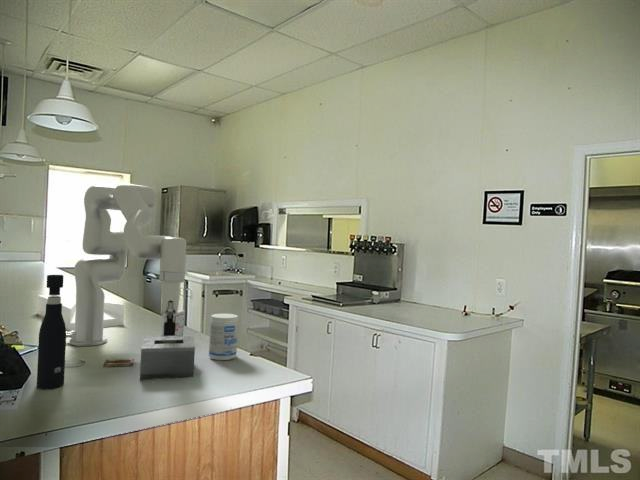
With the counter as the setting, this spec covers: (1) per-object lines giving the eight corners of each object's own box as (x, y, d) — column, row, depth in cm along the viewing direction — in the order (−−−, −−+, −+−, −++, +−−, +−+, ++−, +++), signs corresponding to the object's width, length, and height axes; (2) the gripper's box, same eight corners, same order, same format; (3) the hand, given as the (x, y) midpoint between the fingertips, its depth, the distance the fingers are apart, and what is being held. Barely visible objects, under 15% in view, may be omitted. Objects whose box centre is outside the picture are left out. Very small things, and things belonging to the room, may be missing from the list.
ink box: (172, 343, 172) (174, 313, 171) (160, 342, 173) (162, 311, 172) (183, 338, 180) (185, 309, 180) (172, 337, 181) (173, 308, 181)
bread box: (36, 314, 214) (37, 294, 214) (85, 310, 231) (86, 292, 230) (69, 331, 184) (70, 308, 184) (123, 325, 200) (124, 304, 200)
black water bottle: (44, 381, 124) (49, 273, 124) (68, 381, 125) (73, 274, 124) (31, 389, 118) (36, 276, 117) (56, 389, 118) (61, 277, 118)
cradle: (103, 366, 139) (103, 363, 139) (105, 362, 144) (105, 359, 144) (132, 365, 142) (132, 362, 142) (133, 361, 146) (133, 358, 146)
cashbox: (139, 379, 129) (141, 348, 129) (143, 364, 144) (145, 336, 144) (193, 377, 134) (194, 347, 134) (192, 362, 148) (193, 335, 148)
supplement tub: (227, 362, 151) (229, 319, 150) (203, 358, 153) (205, 316, 153) (241, 355, 160) (243, 314, 160) (217, 352, 163) (219, 312, 162)
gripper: (160, 274, 146) (157, 326, 146) (158, 279, 129) (155, 338, 129) (184, 274, 148) (181, 326, 148) (185, 280, 131) (182, 338, 132)
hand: (169, 331), depth 139 cm, fingers open, 9 cm apart
